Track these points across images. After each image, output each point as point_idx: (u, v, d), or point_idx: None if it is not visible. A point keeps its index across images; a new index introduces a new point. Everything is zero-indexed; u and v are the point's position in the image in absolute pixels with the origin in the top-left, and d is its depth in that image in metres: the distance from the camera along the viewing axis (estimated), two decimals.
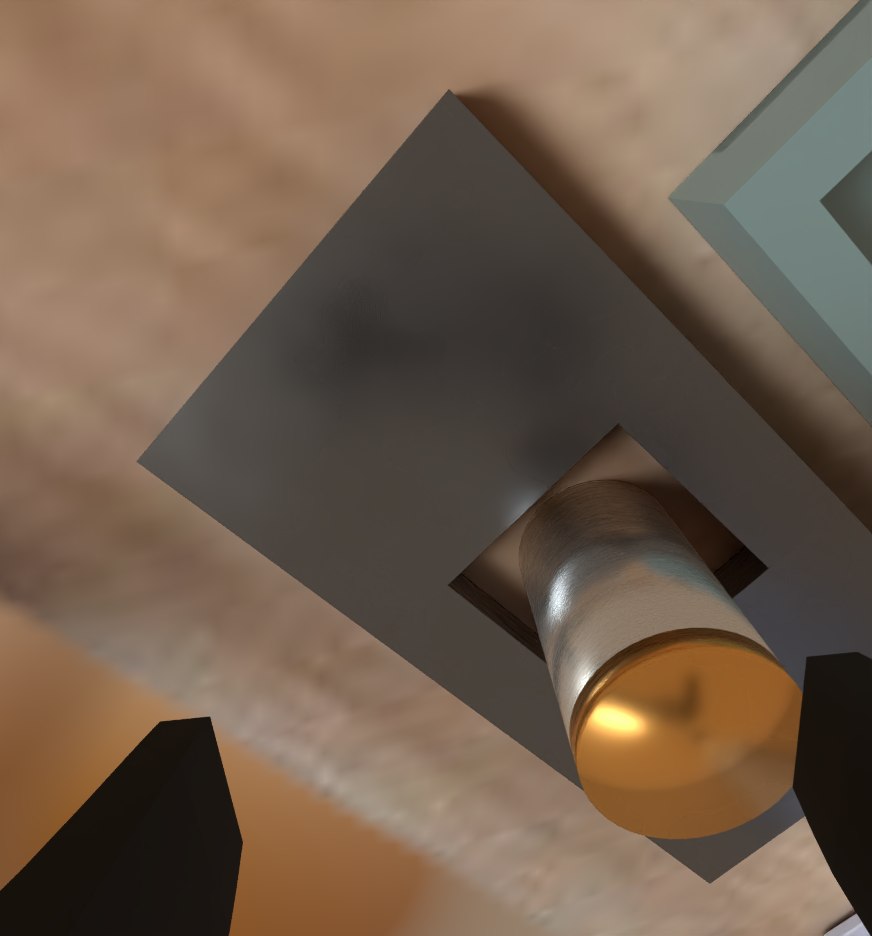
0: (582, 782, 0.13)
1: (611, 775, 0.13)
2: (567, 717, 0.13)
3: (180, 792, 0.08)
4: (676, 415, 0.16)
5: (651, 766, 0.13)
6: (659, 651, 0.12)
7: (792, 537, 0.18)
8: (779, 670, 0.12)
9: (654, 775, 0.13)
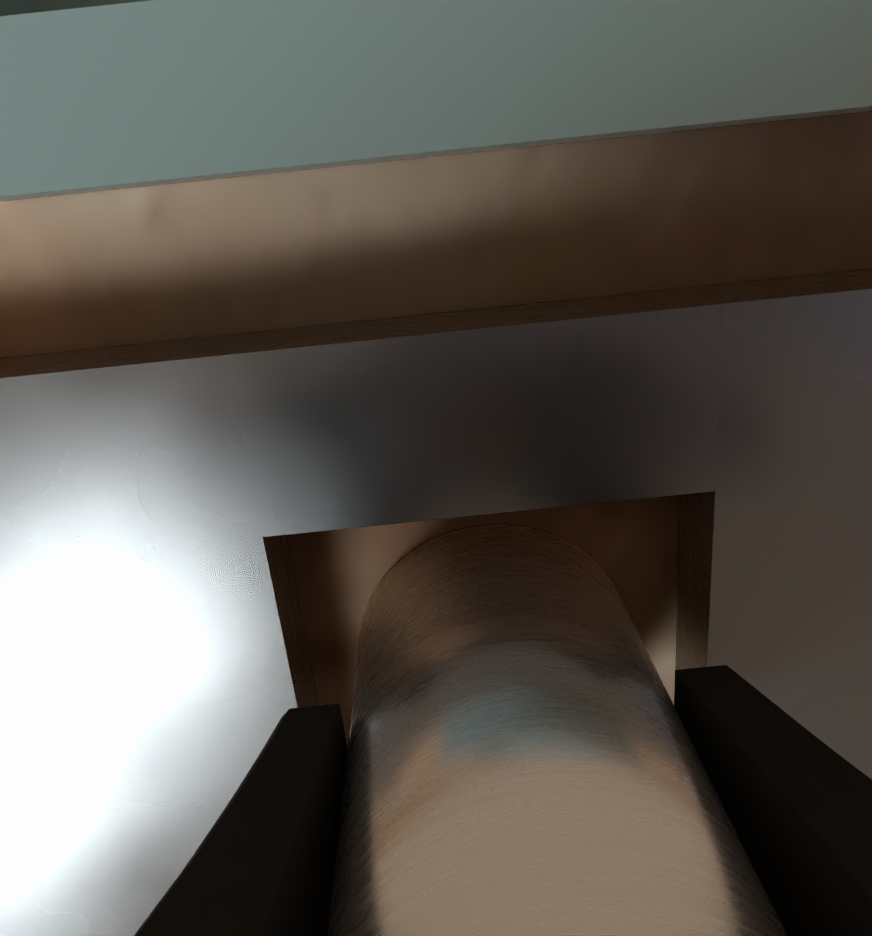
0: None
1: None
2: None
3: (327, 776, 0.08)
4: (318, 453, 0.09)
5: None
6: None
7: (696, 423, 0.09)
8: None
9: None
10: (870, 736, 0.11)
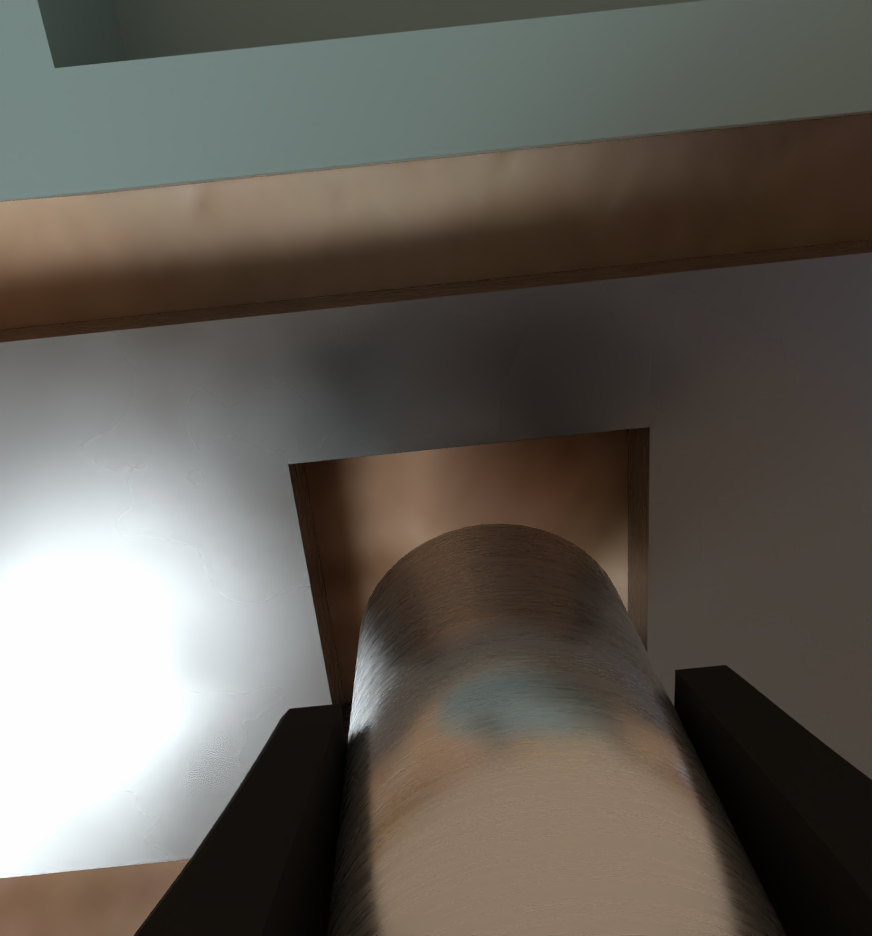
0: None
1: None
2: None
3: (327, 777, 0.08)
4: (333, 394, 0.11)
5: None
6: None
7: (633, 371, 0.11)
8: None
9: None
10: (785, 635, 0.13)
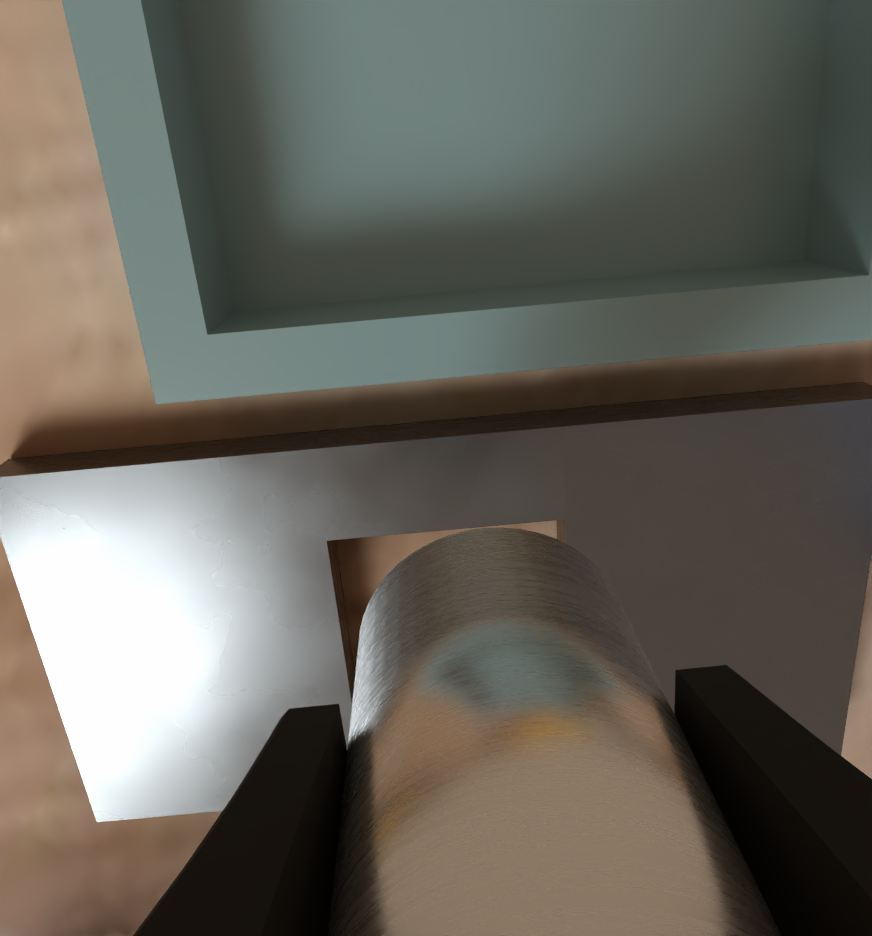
0: None
1: None
2: None
3: (327, 777, 0.08)
4: (357, 497, 0.17)
5: None
6: None
7: (553, 484, 0.17)
8: None
9: None
10: (663, 656, 0.19)
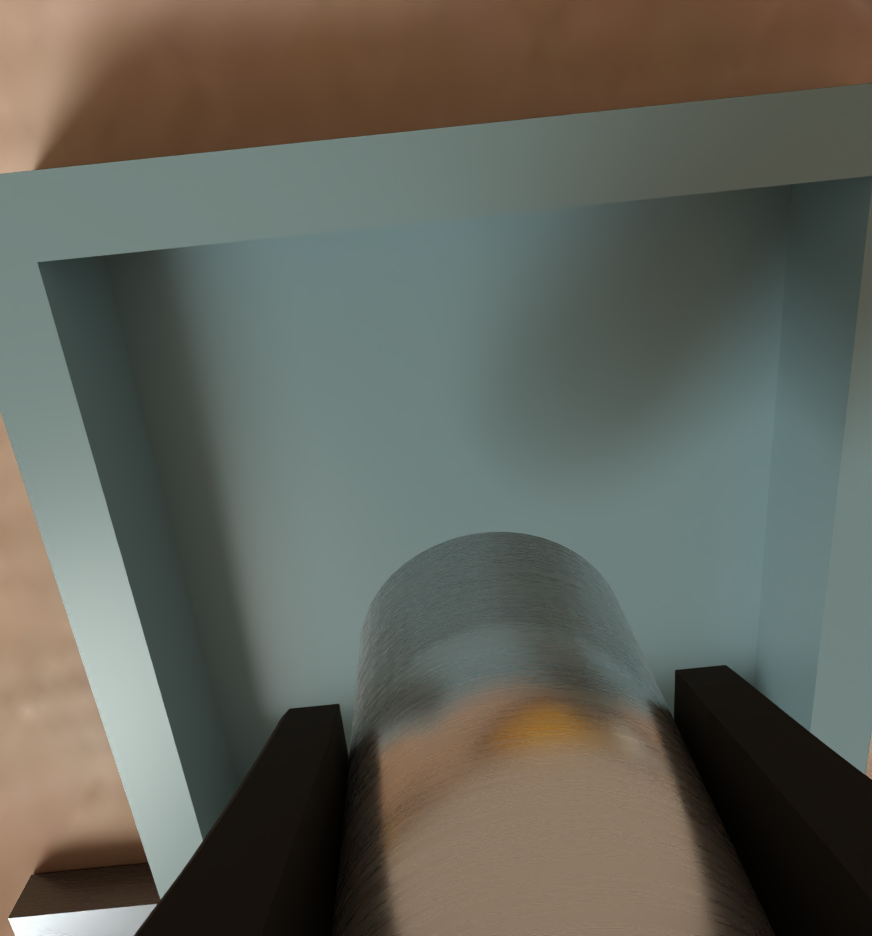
0: None
1: None
2: None
3: (327, 777, 0.08)
4: None
5: None
6: None
7: None
8: None
9: None
10: None
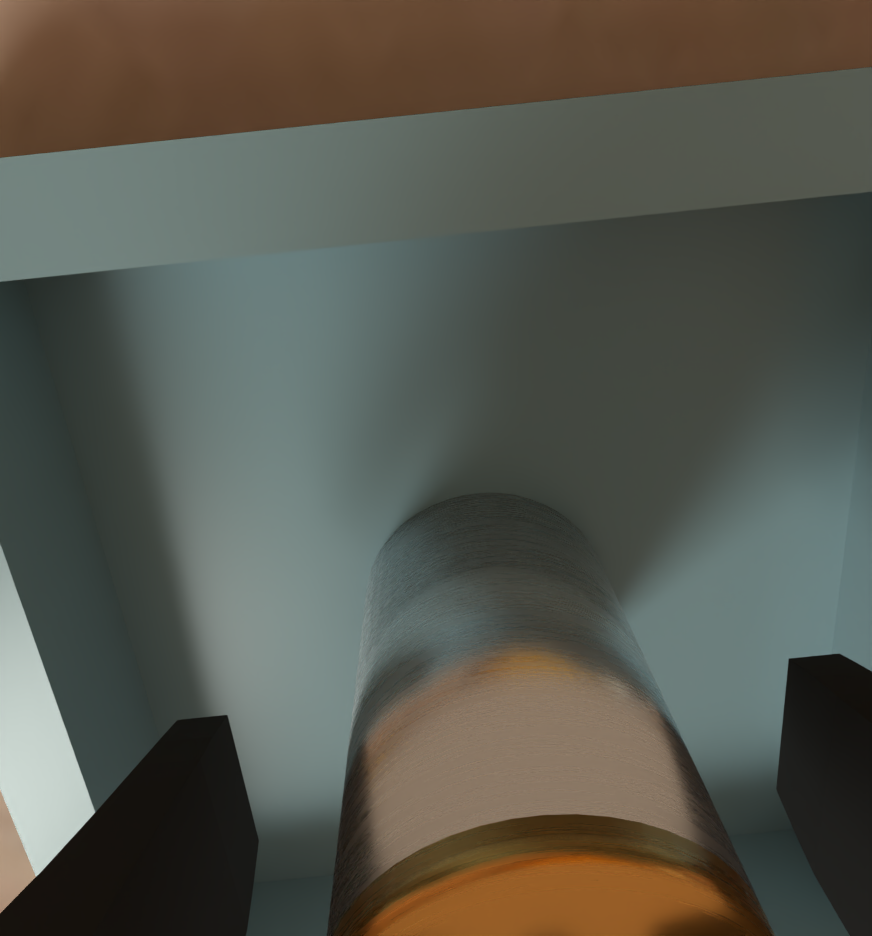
0: None
1: None
2: None
3: (200, 790, 0.08)
4: None
5: None
6: None
7: None
8: (523, 899, 0.05)
9: None
10: None
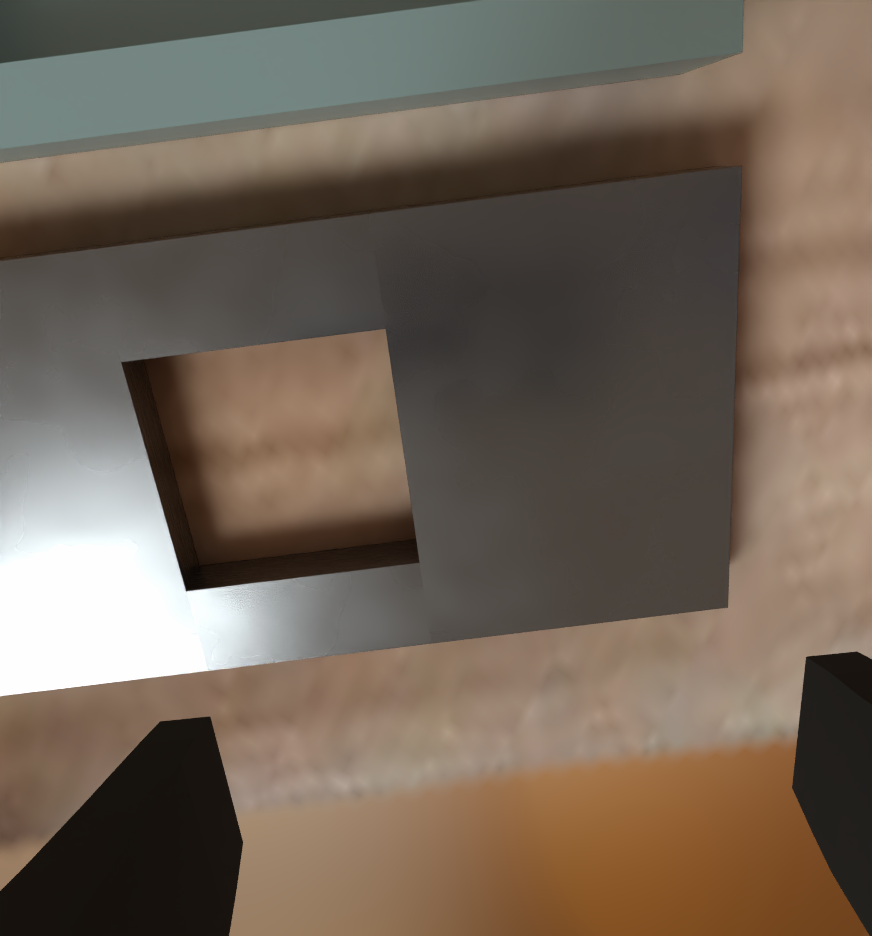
0: None
1: None
2: None
3: (180, 791, 0.08)
4: (148, 308, 0.15)
5: None
6: None
7: (366, 286, 0.15)
8: None
9: None
10: (516, 493, 0.17)
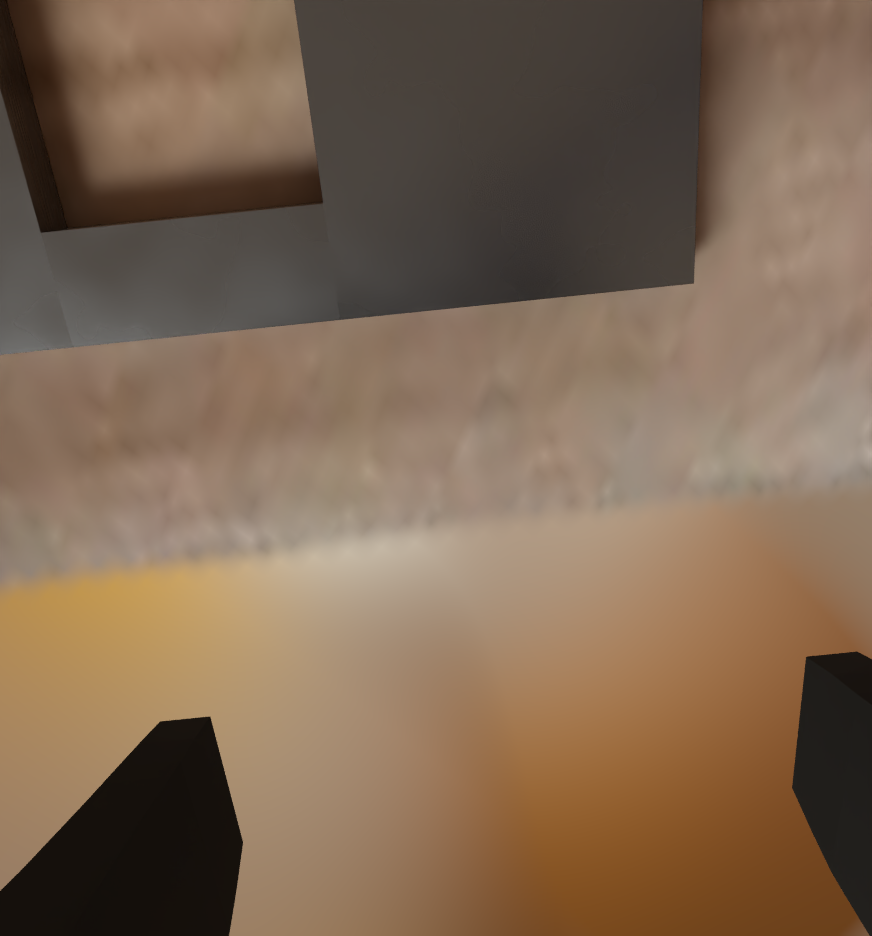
0: None
1: None
2: None
3: (180, 791, 0.08)
4: None
5: None
6: None
7: None
8: None
9: None
10: (438, 107, 0.14)
